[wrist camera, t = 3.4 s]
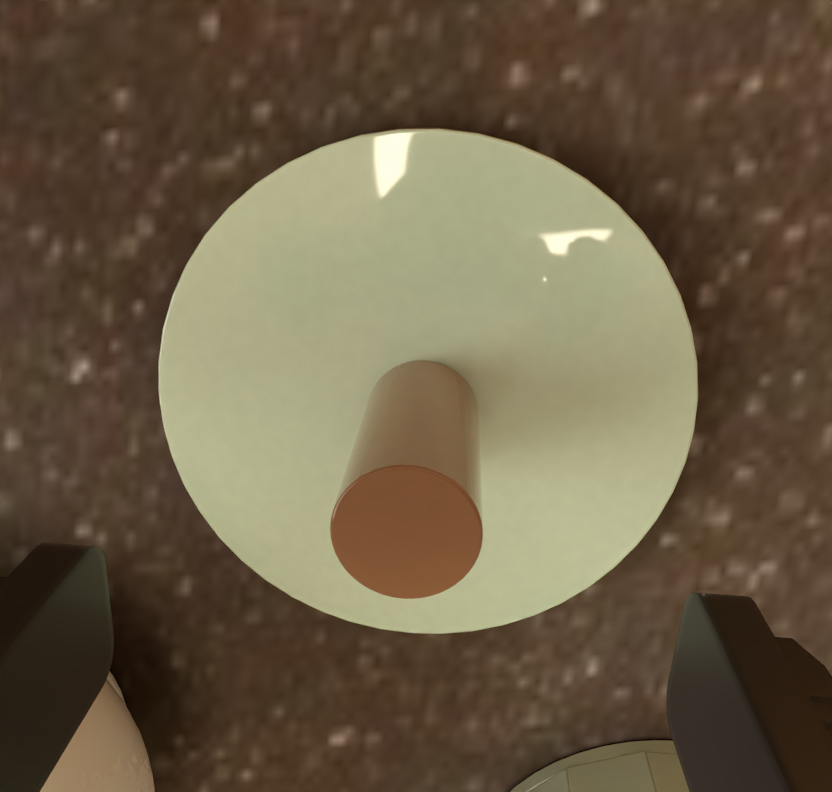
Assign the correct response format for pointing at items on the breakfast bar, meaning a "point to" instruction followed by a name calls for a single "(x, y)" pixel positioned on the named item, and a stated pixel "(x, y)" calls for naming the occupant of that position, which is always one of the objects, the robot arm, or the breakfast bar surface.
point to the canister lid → (428, 380)
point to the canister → (613, 770)
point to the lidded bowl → (104, 751)
